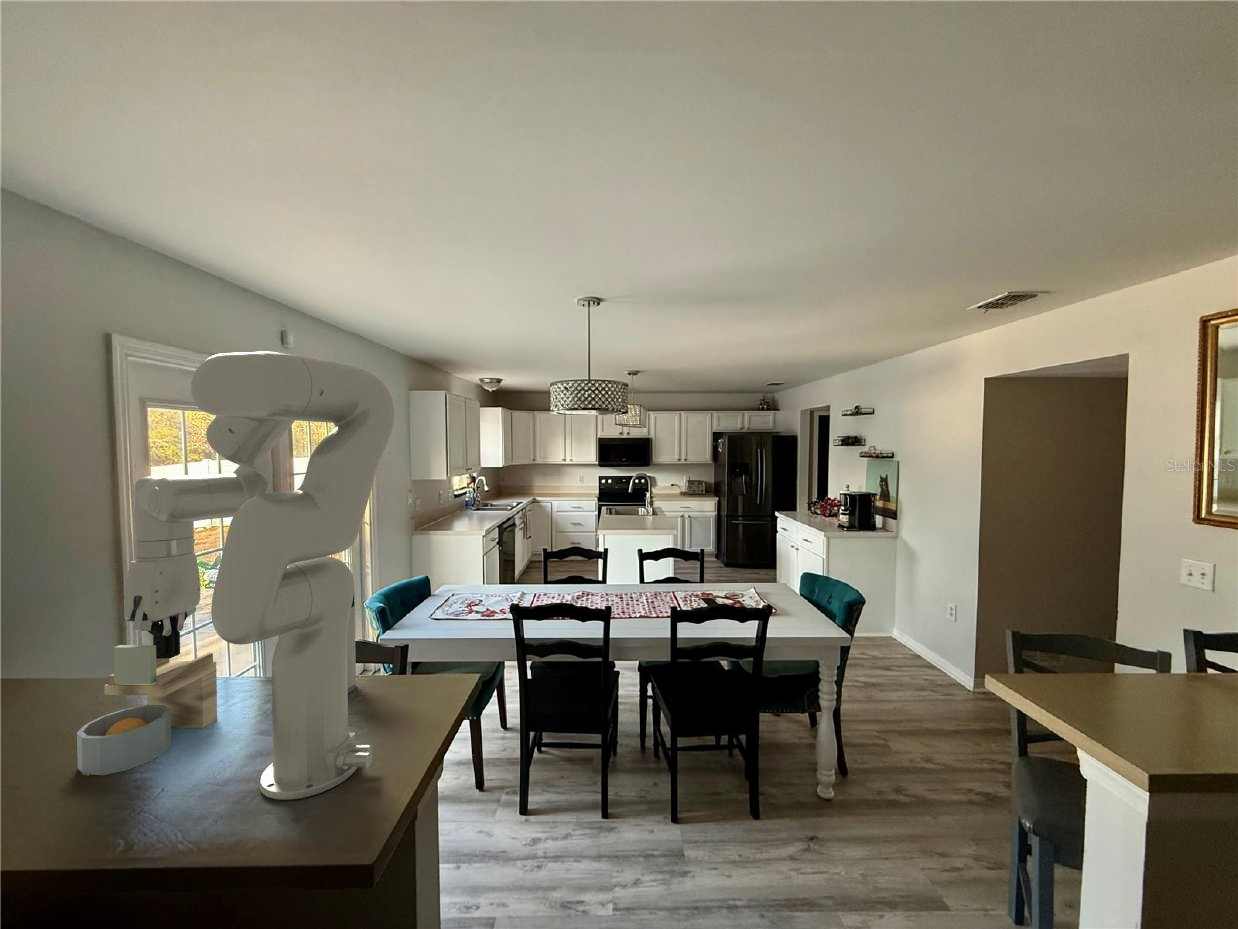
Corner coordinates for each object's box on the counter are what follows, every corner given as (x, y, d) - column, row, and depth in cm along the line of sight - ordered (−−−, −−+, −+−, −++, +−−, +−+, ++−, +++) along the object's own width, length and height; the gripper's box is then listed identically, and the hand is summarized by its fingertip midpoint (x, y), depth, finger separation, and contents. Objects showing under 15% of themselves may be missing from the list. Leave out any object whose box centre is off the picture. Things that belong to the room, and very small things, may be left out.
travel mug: (363, 683, 107) (362, 586, 107) (343, 698, 100) (341, 594, 100) (334, 682, 108) (333, 585, 107) (312, 697, 101) (311, 594, 101)
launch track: (217, 719, 93) (216, 653, 92) (165, 750, 83) (164, 676, 82) (163, 718, 93) (161, 652, 93) (105, 749, 83) (104, 676, 83)
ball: (140, 714, 81) (119, 750, 78) (162, 722, 85) (143, 757, 82) (109, 713, 81) (87, 749, 78) (133, 722, 85) (113, 756, 82)
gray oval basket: (186, 738, 86) (185, 705, 86) (125, 776, 76) (124, 738, 76) (127, 737, 87) (126, 704, 87) (58, 775, 76) (57, 737, 76)
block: (161, 679, 84) (160, 643, 84) (150, 684, 82) (150, 647, 82) (125, 679, 84) (124, 643, 84) (114, 683, 82) (113, 647, 82)
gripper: (181, 541, 96) (183, 641, 96) (98, 557, 81) (100, 675, 81) (221, 541, 96) (223, 641, 96) (146, 557, 81) (147, 675, 81)
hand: (167, 656), depth 88 cm, fingers closed
